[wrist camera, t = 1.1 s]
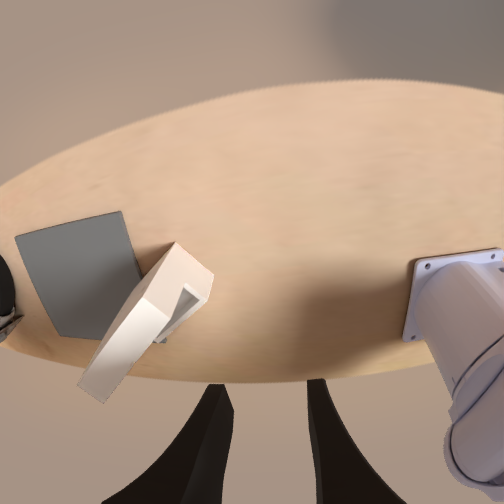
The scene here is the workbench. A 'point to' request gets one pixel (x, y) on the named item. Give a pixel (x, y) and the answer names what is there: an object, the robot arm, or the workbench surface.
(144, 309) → the white angled block
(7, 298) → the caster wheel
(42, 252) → the rubber mat
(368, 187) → the workbench surface
